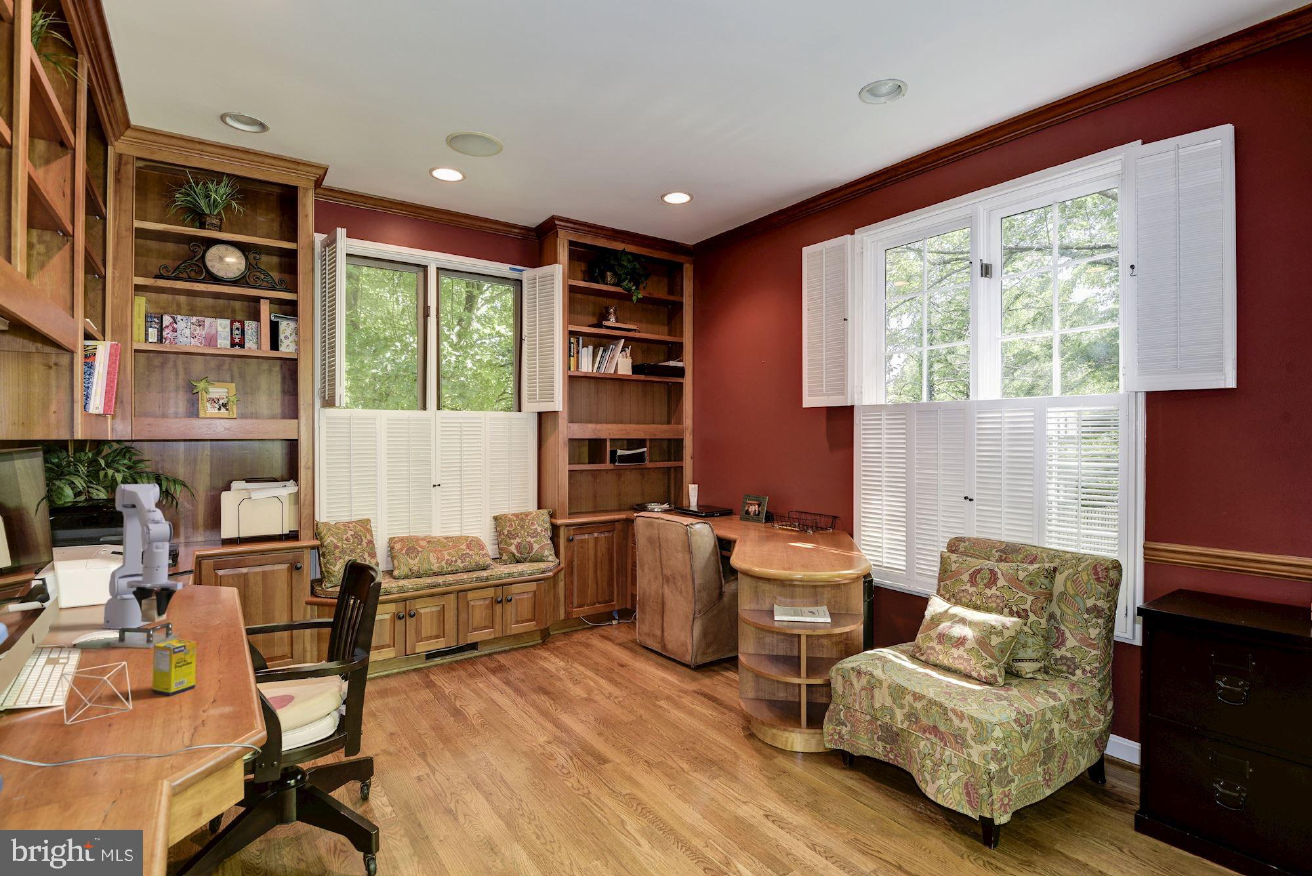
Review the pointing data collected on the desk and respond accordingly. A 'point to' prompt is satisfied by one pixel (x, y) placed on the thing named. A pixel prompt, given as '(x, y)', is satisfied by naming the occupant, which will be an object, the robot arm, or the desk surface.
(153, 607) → the maple block
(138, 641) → the beige flat handled piece
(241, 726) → the desk surface
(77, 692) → the geometric polyhedron
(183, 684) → the supplement box
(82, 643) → the pad
